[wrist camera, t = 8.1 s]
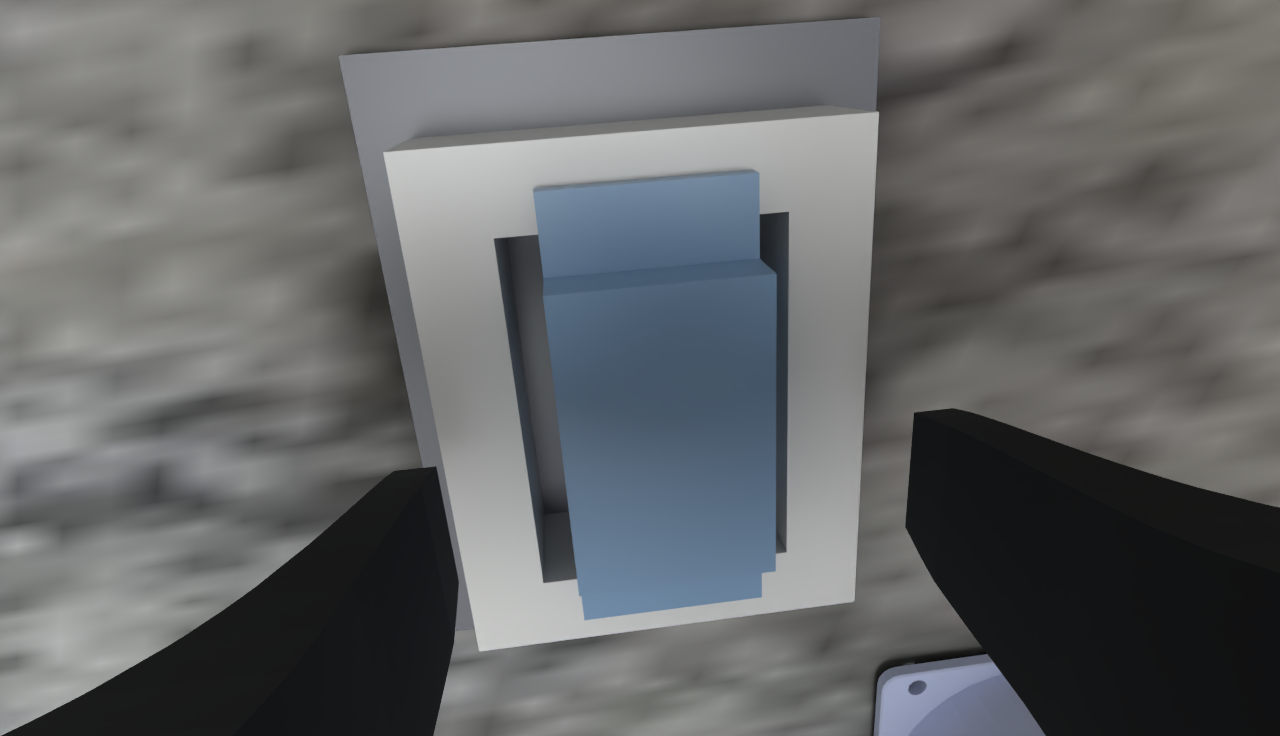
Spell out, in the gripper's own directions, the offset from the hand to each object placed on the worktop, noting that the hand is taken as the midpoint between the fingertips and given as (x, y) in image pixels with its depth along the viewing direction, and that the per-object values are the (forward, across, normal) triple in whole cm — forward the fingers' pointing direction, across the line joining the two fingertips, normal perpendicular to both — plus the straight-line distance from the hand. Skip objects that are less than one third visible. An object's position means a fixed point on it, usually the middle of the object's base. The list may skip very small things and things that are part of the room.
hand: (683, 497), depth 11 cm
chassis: (+6, 0, 0) cm, 6 cm away
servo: (+5, 0, 0) cm, 5 cm away
